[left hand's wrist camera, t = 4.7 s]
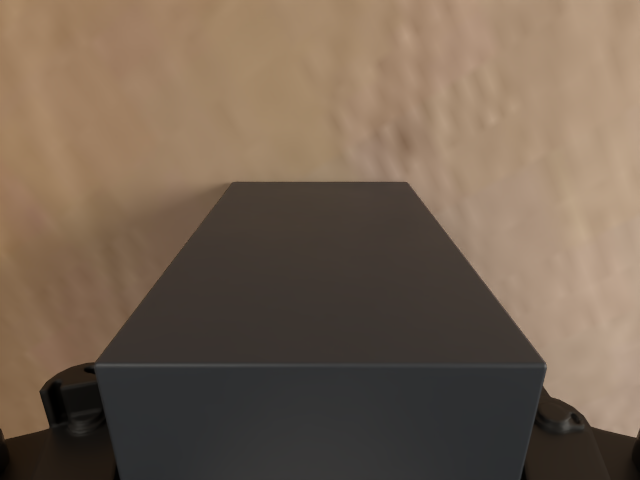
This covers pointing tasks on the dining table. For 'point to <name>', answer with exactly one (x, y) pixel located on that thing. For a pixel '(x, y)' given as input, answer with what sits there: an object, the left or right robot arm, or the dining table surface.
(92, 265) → the dining table surface
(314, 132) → the dining table surface
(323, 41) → the dining table surface
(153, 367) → the beam
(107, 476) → the left robot arm
